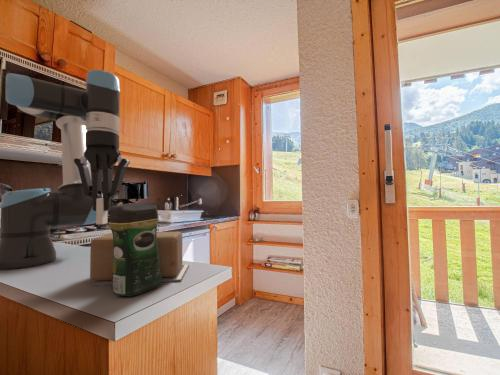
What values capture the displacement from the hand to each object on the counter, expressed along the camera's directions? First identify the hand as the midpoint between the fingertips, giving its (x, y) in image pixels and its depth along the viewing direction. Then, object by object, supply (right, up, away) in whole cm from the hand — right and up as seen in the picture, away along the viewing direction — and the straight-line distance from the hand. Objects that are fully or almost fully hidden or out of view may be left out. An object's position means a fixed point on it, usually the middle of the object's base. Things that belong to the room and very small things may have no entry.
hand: (101, 223), depth 63 cm
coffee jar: (+14, -13, -10) cm, 21 cm away
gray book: (+11, -13, +1) cm, 17 cm away
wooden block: (0, -8, -1) cm, 8 cm away
